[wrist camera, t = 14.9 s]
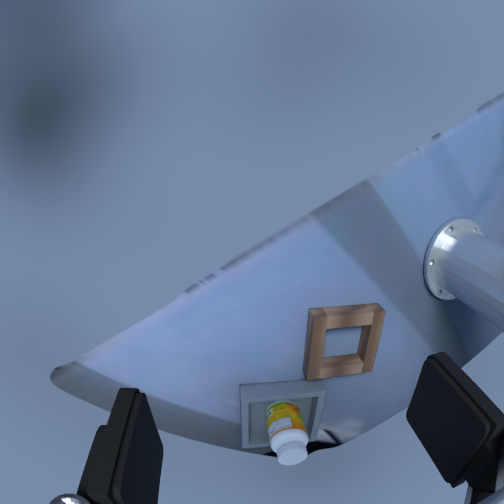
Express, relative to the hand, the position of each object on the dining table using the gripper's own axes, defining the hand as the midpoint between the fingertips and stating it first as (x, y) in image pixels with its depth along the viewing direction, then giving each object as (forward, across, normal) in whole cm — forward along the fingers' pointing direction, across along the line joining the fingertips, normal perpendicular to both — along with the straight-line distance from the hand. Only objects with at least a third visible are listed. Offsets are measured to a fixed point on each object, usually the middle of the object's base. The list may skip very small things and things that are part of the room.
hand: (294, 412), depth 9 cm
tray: (+28, -5, +29) cm, 41 cm away
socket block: (+28, -13, +16) cm, 35 cm away
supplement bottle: (+28, -5, +29) cm, 40 cm away
